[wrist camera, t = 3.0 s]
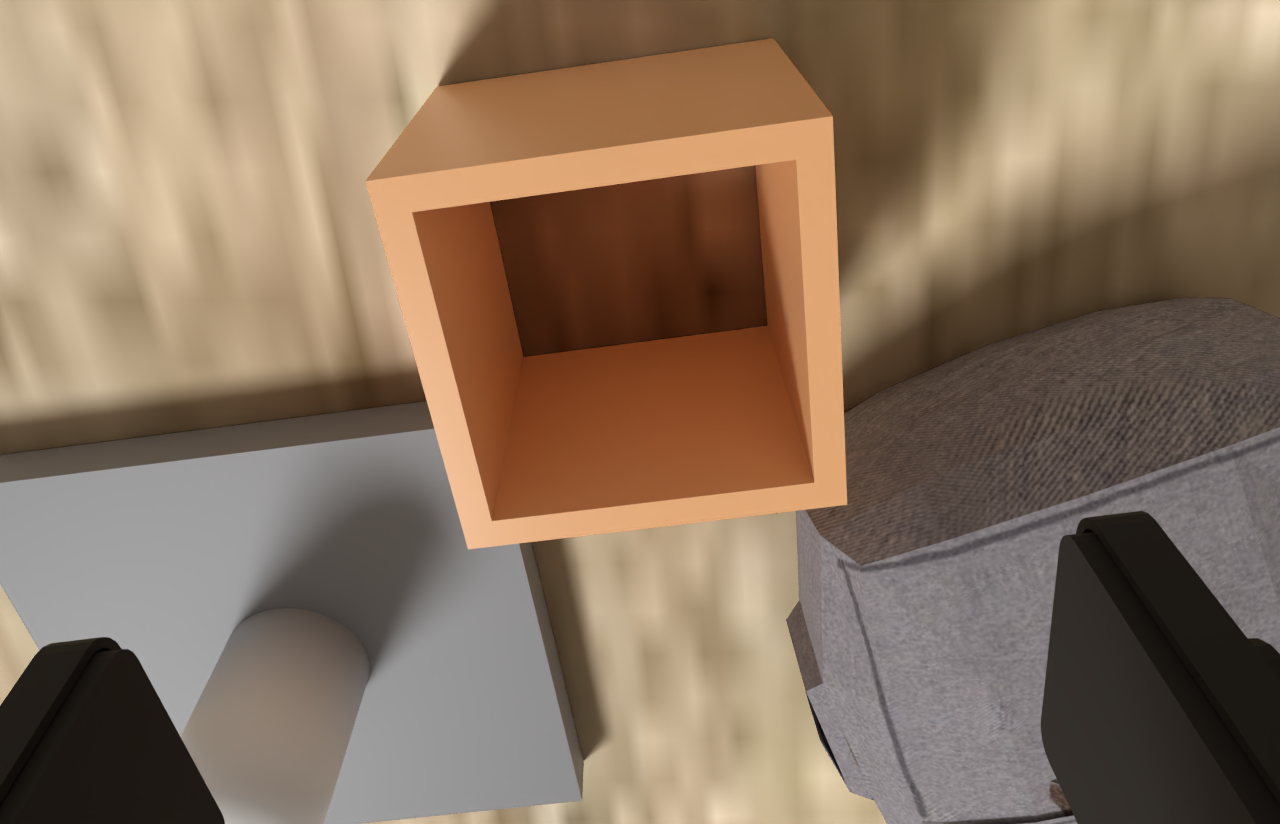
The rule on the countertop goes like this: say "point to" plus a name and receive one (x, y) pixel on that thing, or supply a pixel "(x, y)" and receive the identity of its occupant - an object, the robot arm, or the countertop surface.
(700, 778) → the countertop surface
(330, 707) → the gray plate with knob
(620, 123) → the orange cube cubby
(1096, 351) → the soft grey pack
